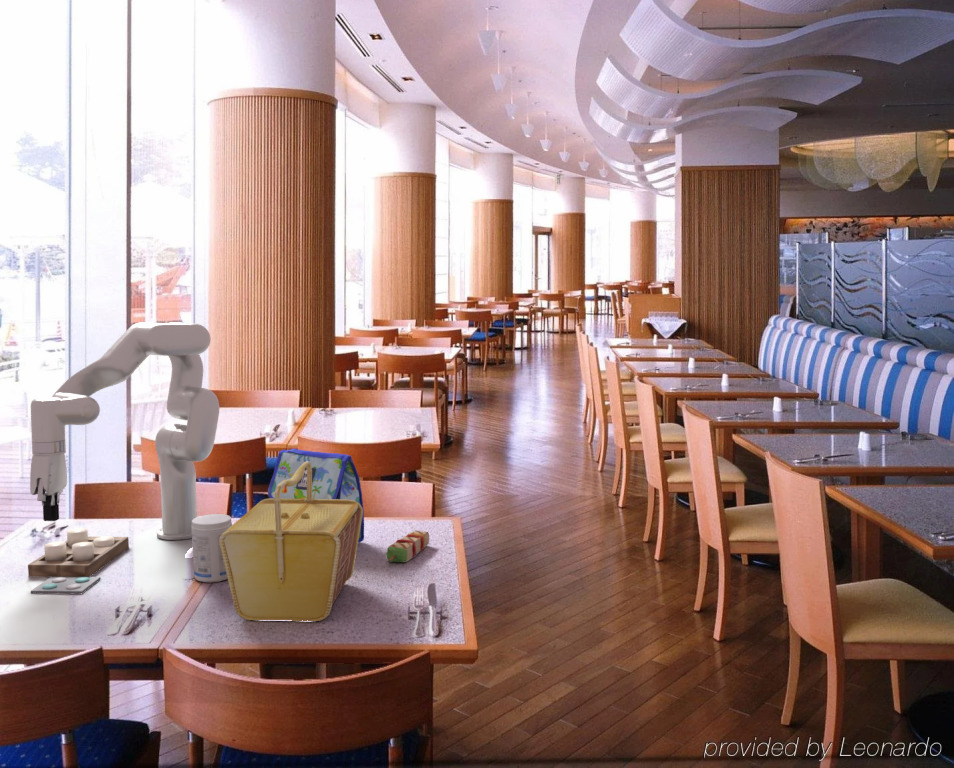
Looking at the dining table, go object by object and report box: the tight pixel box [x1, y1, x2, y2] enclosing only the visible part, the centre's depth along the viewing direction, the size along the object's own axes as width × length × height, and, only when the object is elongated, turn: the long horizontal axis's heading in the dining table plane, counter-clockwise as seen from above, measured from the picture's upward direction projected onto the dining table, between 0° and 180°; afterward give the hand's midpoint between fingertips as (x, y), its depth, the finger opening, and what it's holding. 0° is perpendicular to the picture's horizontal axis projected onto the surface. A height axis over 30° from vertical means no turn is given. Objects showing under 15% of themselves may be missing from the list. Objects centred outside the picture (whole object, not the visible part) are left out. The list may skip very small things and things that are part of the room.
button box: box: [27, 536, 130, 578], centre depth 235 cm, size 15×24×3 cm, turn 179°
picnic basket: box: [219, 461, 364, 622], centre depth 205 cm, size 29×26×30 cm
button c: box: [72, 542, 94, 561], centre depth 229 cm, size 5×5×4 cm
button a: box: [94, 535, 115, 547], centre depth 241 cm, size 5×5×4 cm
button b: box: [66, 527, 89, 547], centre depth 241 cm, size 5×5×4 cm
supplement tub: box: [191, 513, 233, 583], centre depth 223 cm, size 10×10×15 cm
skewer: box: [385, 530, 430, 563], centre depth 240 cm, size 21×6×5 cm, turn 161°
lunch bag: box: [267, 448, 365, 544], centre depth 248 cm, size 22×17×26 cm
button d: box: [43, 541, 67, 561], centre depth 229 cm, size 5×5×4 cm
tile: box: [30, 576, 102, 594], centre depth 217 cm, size 12×10×1 cm
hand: (51, 520), depth 227 cm, fingers closed
